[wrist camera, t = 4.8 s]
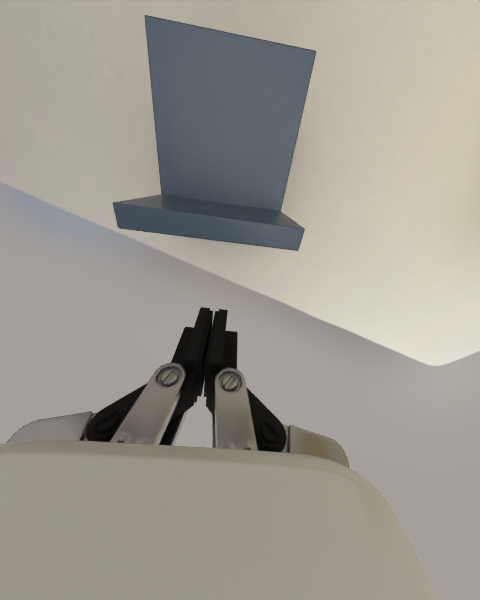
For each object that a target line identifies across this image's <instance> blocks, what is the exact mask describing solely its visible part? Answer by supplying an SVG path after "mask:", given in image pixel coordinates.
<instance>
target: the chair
mask: <svg viewBox="0 0 480 600" xmlns="http://www.w3.org/2000/svg"><path fill="white" fill-rule="evenodd" d="M145 25H146V35H147V46H148V56H149V67H150V78H151V88H152V99H153V109H154V120H155V131H156V141H157V152H158V162H159V173H160V184H161V194H162V195H156V196H150V197H144V198H138V199H132V200H126V201H120V202H114V203H113V207H114V212H115V216H116V220H117V225H118V228H120V229H128V230H136V231H144V232H152V233H160V234H168V235H176V236H184V237H192V238H200V239H208V240H216V241H224V242H232V243H240V244H248V245H256V246H263V247H271V248H279V249H287V250H295V251H298V250H299V246H300V243H301V240H302V237H303V233H304V230H305V229H304V228H303V227H302V226H300V225H299V224H297V223H296V222H295V221H293V220H292V219H290V218H289V217H288V216H286V215H285V214H283V213H282V212H281V207H282V202H283V198H284V194H285V189H286V185H287V180H288V176H289V171H290V167H291V162H292V158H293V153H294V149H295V144H296V140H297V136H298V131H299V127H300V122H301V118H302V113H303V109H304V104H305V100H306V95H307V91H308V87H309V82H310V78H311V73H312V69H313V64H314V60H315V55H316V51H314V50H309V49H304V48H299V47H295V46H290V45H285V44H280V43H275V42H271V41H266V40H261V39H256V38H252V37H247V36H242V35H237V34H233V33H228V32H223V31H218V30H213V29H209V28H204V27H199V26H194V25H190V24H185V23H180V22H175V21H171V20H166V19H161V18H156V17H152V16H147V15H145Z"/></svg>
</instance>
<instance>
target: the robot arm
mask: <svg viewBox="0 0 480 600" xmlns="http://www.w3.org/2000/svg"><path fill="white" fill-rule="evenodd" d="M212 316H213V311H210V308H203V307H201V308H200V311H199V314H198V317H197V320H196V323H195V326H194V328H192V327H185V328H184V331H183V333H182V336H181V338H180V341H179V344H178V346H177V349H176V351H175V354H174V356H173V359H172V361H171V363H167V364H165V365H162V366H161V367H159V368H158V369H157V370H156V371H155V373H154V374H153V376H152V377H151V379H150V380H149V382H148V383H147V384H145V385H144V386H142V387H140V388H138V389H137V390H135V391H133V392H132V393H130V394H128V395H126V396H125V397H123V398H121V399H119V400H118V401H116V402H114V403H112V404H111V405H109V406H107V407H106V408H104V409H102V410H101V411H100V412H98V413H92V412H85V413H79V414H73V415H66V416H60V417H54V418H47V419H41V420H37V421H33V422H31V423H29V424H27V425H25V426H23V427H22V428H20V429H19V430H18V431H17V432H15V433H14V434H13V435H12V436H11V438H10V439H9V440H8V441H7V443H6V444H1V445H0V600H440V599H439V597H438V595H437V593H436V590H435V588H434V586H433V584H432V582H431V580H430V578H429V576H428V574H427V572H426V570H425V568H424V566H423V564H422V562H421V560H420V558H419V556H418V554H417V552H416V550H415V549H414V546H413V544H412V542H411V540H410V539H409V537H408V535H407V533H406V531H405V529H404V527H403V526H402V524H401V522H400V520H399V518H398V517H397V515H396V513H395V512H394V510H393V508H392V507H391V505H390V504H389V502H388V501H387V499H386V498H385V497H384V496H383V494H382V493H381V492H380V491H379V490H378V489H377V488H376V487H375V486H374V485H373V484H372V483H371V482H370V481H368V480H367V479H365V478H364V477H363V476H361V475H360V474H358V473H357V472H355V471H353V470H352V469H350V468H349V464H348V459H347V456H346V454H345V452H344V450H343V449H342V447H341V446H340V445H339V444H338V443H337V442H336V441H335V440H333V439H331V438H328V437H326V436H322V435H320V434H316V433H313V432H311V431H307V430H304V429H301V428H298V427H295V426H292V425H289V426H286V425H283V424H282V423H281V422H280V421H279V420H278V419H277V418H276V417H275V416H274V415H273V414H272V413H271V412H270V411H269V410H268V409H267V408H266V407H265V406H264V405H263V404H262V402H260V400H259V399H258V398H257V397H255V395H253V393H251V391H249V389H248V388H247V387H246V383H245V378H244V376H243V374H242V373H241V372H240V371H238V370H237V332H231V331H225V329H226V319H227V310H220V309H219V311H216V312H215V316H214V320H213V325H212V318H213V317H212ZM204 379H205V384H204ZM203 384H204V385H205V386H204V397H207V399H206V407H208V409H209V411H210V412H211V413H212V448H205V447H187V446H174V445H175V443H176V440H177V437H178V435H179V432H180V429H181V427H182V424H183V422H184V419H185V416H186V414H187V410H188V409H189V408H191V407H192V406H193V405H194V402H196V401H197V396H201V394H202V389H203Z"/></svg>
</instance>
